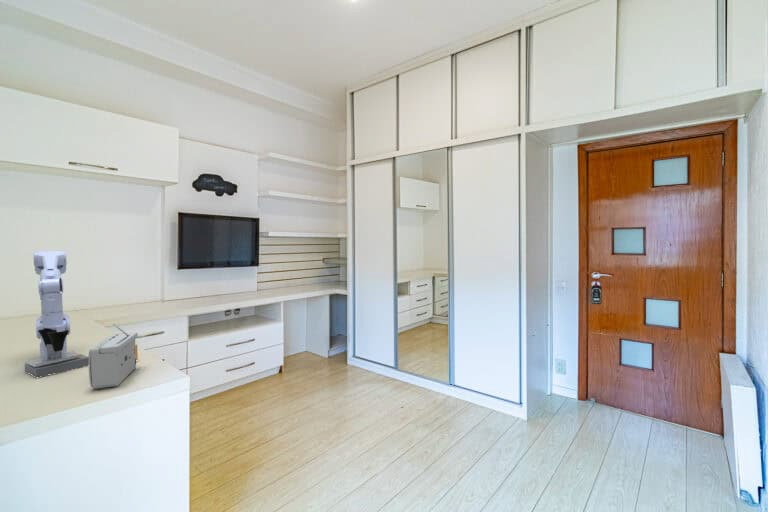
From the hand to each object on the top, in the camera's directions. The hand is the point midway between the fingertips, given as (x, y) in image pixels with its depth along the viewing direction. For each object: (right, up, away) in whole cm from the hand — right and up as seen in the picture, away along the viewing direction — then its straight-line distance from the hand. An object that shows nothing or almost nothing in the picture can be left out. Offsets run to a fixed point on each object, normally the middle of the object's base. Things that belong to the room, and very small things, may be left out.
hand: (54, 349), depth 134 cm
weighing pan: (0, -4, 0) cm, 4 cm away
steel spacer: (0, -3, 0) cm, 3 cm away
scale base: (0, -7, +1) cm, 7 cm away
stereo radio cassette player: (+29, -8, -9) cm, 31 cm away
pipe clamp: (+21, -7, +4) cm, 22 cm away
